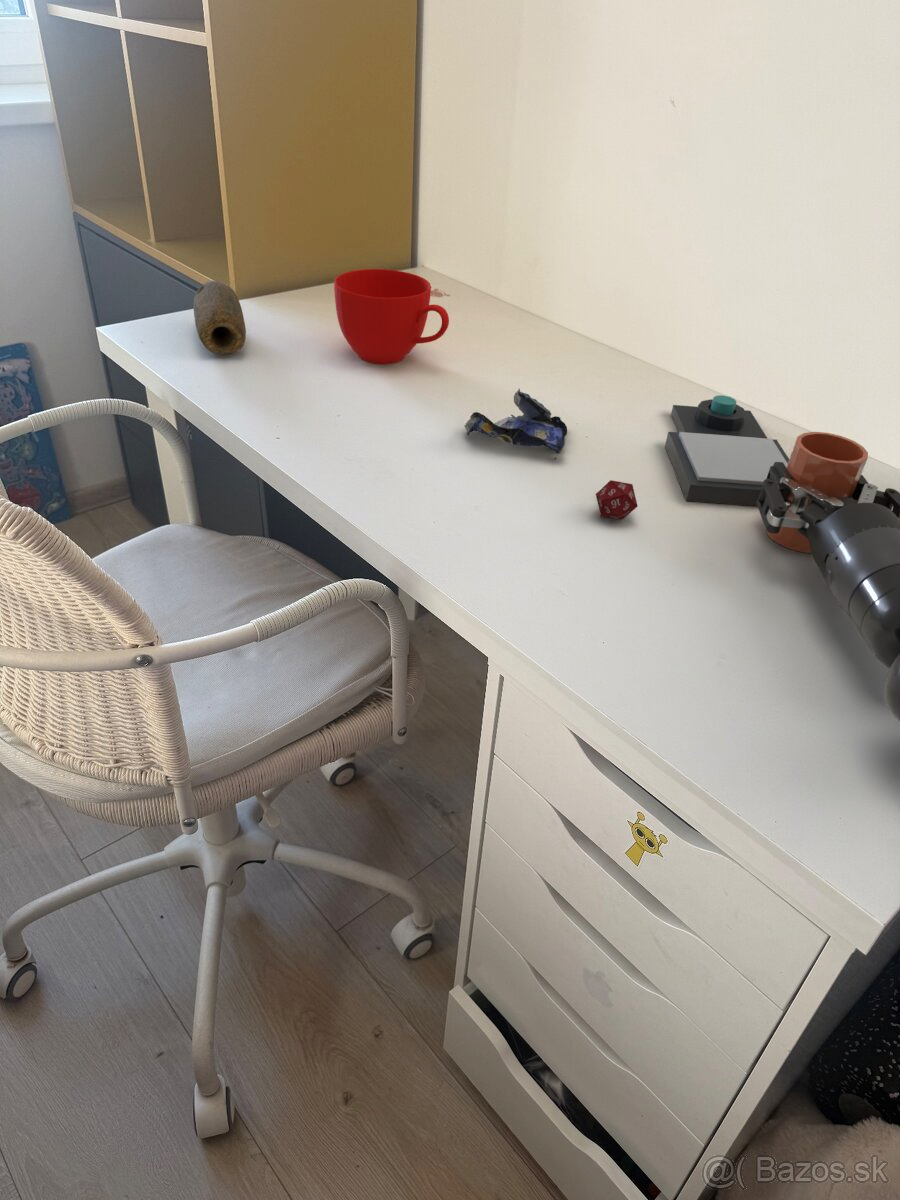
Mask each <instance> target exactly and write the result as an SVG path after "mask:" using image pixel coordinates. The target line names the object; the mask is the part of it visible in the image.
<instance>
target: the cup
mask: <svg viewBox="0 0 900 1200" xmlns="http://www.w3.org/2000/svg"><path fill="white" fill-rule="evenodd" d="M868 459H869V452H868V450H867V449H866V448H865V447H864V446H863V445H861V444H859V443H858V442H856V441H855V440H853V439H850V438H847V437H846V436H842V435H840V434H834V433H831V432H821V431H809V432H803V433H801V434H799V435H797V437H796V440H795V442H794V445H793V448H792V451H791V454H790V456H789V462H788V465H787V470H788V471H789V473H790V474H791V476H792V477H793V481H795V482H797V483H798V484H800V485H802V486H807V485H811V486H813V487H814V488H816V489H817V490H819V491H821V492H822V493H824V494H826V495H827V496H830V497H835V498H841V497H848V498H852V495H853V493H854V490H855V488H856V485H857V483H858V481H859V478H860V476H861V475H862V473H863V470H864V468H865V467H866V464H867V461H868ZM788 499H789V500H790V501H792V502H793V499H794V494H793V493H792V492H790V495H789V497H788ZM811 501H812V500H811V499H810V498H809V500H808V503H807V505H806V507H807V506H808V505H809V503H810V502H811ZM765 531H766V533H767V535H768V537H769V538H770V539H771V540H772V541H774V542H775V543H776V544H779V545H780V546H782V547H784V548H787V549H788V550H789V549H790V550H793V551H796V552H799V553H805V554H811V549H810V544H809V540H808V539H807V538H806V537H805V536H803V535H802V534H800V533H799V532H798V530H797V528H790V527H781V529H780V532H779V533H777V534H774V533H770V532H768V531H767V530H766V529H765Z"/></svg>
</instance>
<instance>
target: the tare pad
mask: <svg viewBox="0 0 900 1200" xmlns="http://www.w3.org/2000/svg"><path fill="white" fill-rule="evenodd" d="M712 401H713V398H712V399H705V400H702V401H700V402H699V403H698V404H697V406H694V405H693V406H692V405H679V404H673V405H672V407H671V408H672V409H671V413H670V416H671V419H672V421H673V423H674V425H675V427H676V430H677V432H687V433H701V434H714V435H727V436H741V437H754V438H767V439H768V436H767V435H766V433H765V431H764V430H763V429H762V427H761V425H760V424H759V422H758V420H757V419H756V417H755V416H754V414H753V413H752V411H751V410H748V409H747V410H746V409H745V408H743V406H740V405H739V404H737V403H736V406H735V409H734V413H733V414H731V415H722V414H719V413H715V412H713V411H711V410H710V408H711V405H712Z"/></svg>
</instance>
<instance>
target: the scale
mask: <svg viewBox="0 0 900 1200" xmlns="http://www.w3.org/2000/svg"><path fill="white" fill-rule="evenodd" d="M664 448H665V451H666V453H667V457H668V458H669V461H670V464H671V466H672V469H673V471H674V473H675V477H676V479H677V481H678V484H679V486H680V488H681V491H682V493H683V497H684V499H685V501H686V502H698V503H710V504H711V503H712V504H723V505H735V506H736V505H738V506H749V507H750V506H751V507H758V506H757V500H758V498H759V495H760V492H761V489H762V485H763V482H764V480H765V479H766V478H767V475H768V472H769V469H770V466H773V465H774V462H783V463H784V465H785V466H786V468H787V465H788V462H789V459H790V457H788V455H787V453H786V451H785V450H784V449H783V447H782V445H781V444H780V443H779V441H778V439H775V438H774V439H773V438H768V437H767V438H754V437H741V436H727V435H714V434H701V433H687V432H678V431H668V432H667V436H666V439H665V444H664Z"/></svg>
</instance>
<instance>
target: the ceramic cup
mask: <svg viewBox="0 0 900 1200" xmlns="http://www.w3.org/2000/svg"><path fill="white" fill-rule="evenodd" d="M333 288H334V289H333V290H334V303H335V310H336V311H335V312H336V316H337V317H336V318H337V321H338V322H337V323H338V325H339V328H340V331H341V333H342V335H343V338H344V339H345V341H346V342H347V344H348V345H349V346H350V348H351V349H352V350H353V351H354V352H355V354H356V355H357V356H358V358H359V359H360V360H362V361H364V362H367V363H371V364H377V365H390V364H397V363H399V362H402V361H403V360H405V358H406V356H407V355H409V354H410V352H411V351H412V350H413V349H414V348H415V346H417V345H418V344H427V343H431V342H435V341H437V340H439V339H440V338H442V337H443V336H444V334H445V333H446V332H447V330H448V328H449V325H450V317H449V313H448V312H447V310H446V308H445V307H443V306H441V305H439V304H431V303H430V302H431V295H432V294H431V292H432V286H431V283H430V282H429V281H428V279H426V278H424V277H422V276H420V275H417V274H414V273H411V272H406V271H401V270H395V269H384V268H366V269H356V270H351V271H347V272H344V273H342V274H339V275H338V276H337V277H336V278H335V279H334V283H333ZM429 312H436V313H437V314H438V315H439V317H440V319H441V325H440V328H439V330H438V331H437V332H436V333H435V334H432V335H429V336H422V335H423V333H424V330H425V327H426V323H427V320H428V319H427V318H428V316H429Z"/></svg>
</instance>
